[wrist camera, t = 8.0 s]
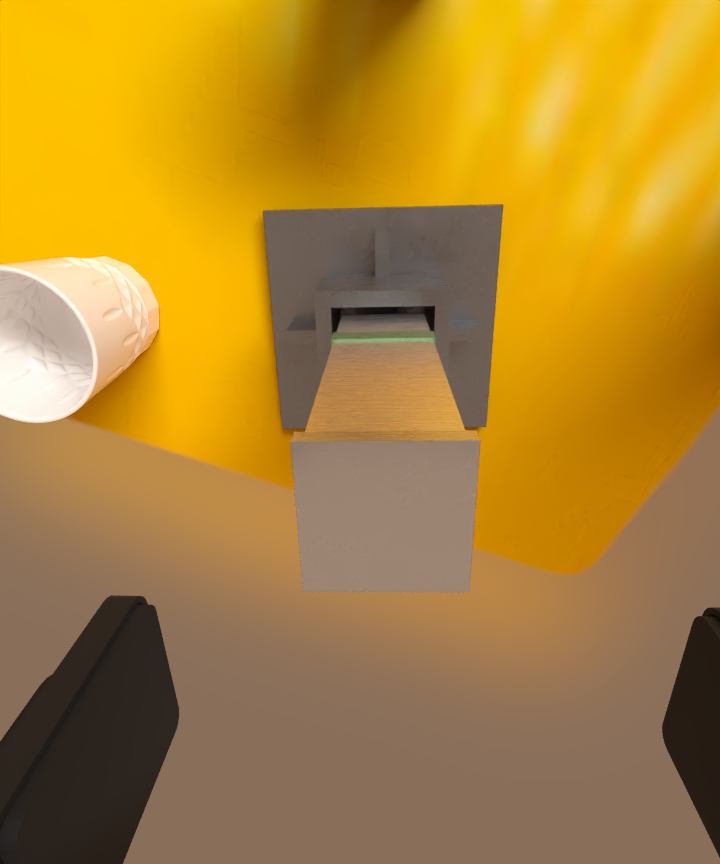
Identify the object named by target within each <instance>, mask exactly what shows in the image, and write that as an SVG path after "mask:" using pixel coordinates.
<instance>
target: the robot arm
mask: <svg viewBox="0 0 720 864" xmlns="http://www.w3.org/2000/svg"><path fill="white" fill-rule="evenodd" d="M178 719H179V707H178V703H177V698H176V694H175V689H174V685H173V681H172V676H171V672H170V669H169V664H168V659H167V655H166V651H165V647H164V642H163V638H162V633H161V629H160V625H159V620H158V616H157V612H156V609H155V607H154V606H153V605H148V604H147V601H146V599H145V598H144V597H142V596H109V597H108V598H107V599H106V600H105V601H104V602H103V603H102V605H101V606H100V608H99V609H98V610H97V612H96V614H95V615H94V616H93V618H92V619H91V620H90V622H89V623H88V625H87V626H86V628H85V629H84V631H83V632H82V633H81V635H80V636H79V637H78V639H77V641H76V642H75V643H74V645H73V646H72V647H71V649H70V650H69V652H68V653H67V655H66V656H65V658H64V659H63V661H62V662H61V663H60V665H59V666H58V667H57V669H56V671H55V672H54V673H53V674H52V675H51V676H49V677H48V678H46V680H45V681H44V682H43V683H42V684H41V685H40V686H39V688H38V689H37V691H36V692H35V693H34V695H33V696H32V698H31V699H30V701H29V702H28V703H27V705H26V706H25V708H24V709H23V710H22V712H21V713H20V714H19V716H18V717H17V719H16V720H15V722H14V723H13V724H12V726H11V727H10V729H9V730H8V732H7V733H6V734H5V736H4V737H3V739H2V740H1V741H0V864H123V862H124V859H125V857H126V854H127V852H128V849H129V847H130V844H131V842H132V839H133V837H134V834H135V832H136V829H137V827H138V824H139V821H140V819H141V817H142V814H143V812H144V809H145V807H146V804H147V802H148V799H149V797H150V794H151V792H152V789H153V787H154V784H155V782H156V779H157V777H158V774H159V772H160V769H161V766H162V764H163V762H164V759H165V757H166V754H167V752H168V749H169V747H170V744H171V742H172V739H173V737H174V734H175V732H176V729H177V725H178ZM662 729H663V730H662V732H663V739H664V742H665V745H666V748H667V750H668V752H669V754H670V756H671V758H672V761H673V763H674V765H675V767H676V769H677V771H678V773H679V775H680V777H681V779H682V781H683V783H684V785H685V787H686V789H687V791H688V793H689V795H690V798H691V800H692V802H693V804H694V806H695V808H696V810H697V812H698V814H699V816H700V818H701V820H702V822H703V824H704V826H705V828H706V830H707V832H708V834H709V836H710V838H711V840H712V843H713V845H714V847H715V849H716V851H717V853H718V855H719V857H720V608H707V609H706V610H705V611H704V613H703V615H702V616H699V617H696V618H695V619H694V621H693V624H692V627H691V631H690V634H689V637H688V641H687V644H686V648H685V651H684V654H683V658H682V661H681V664H680V668H679V671H678V674H677V678H676V681H675V684H674V688H673V691H672V695H671V698H670V701H669V704H668V708H667V711H666V715H665V718H664V721H663V726H662Z"/></svg>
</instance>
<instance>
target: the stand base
mask: <svg viewBox="0 0 720 864" xmlns="http://www.w3.org/2000/svg"><path fill="white" fill-rule="evenodd" d="M502 212H503V205H501V204H494V205H455V206H415V207H376V208H336V209H297V210H265V211H263V216H264V227H265V239H266V250H267V261H268V272H269V283H270V294H271V306H272V317H273V328H274V339H275V350H276V361H277V373H278V384H279V395H280V406H281V417H282V428H283V429H302V428H306V426H307V423H308V420H309V417H310V413H311V410H312V407H313V404H314V401H315V398H316V395H317V392H318V388H319V385H320V382H321V379H322V376H323V373H324V370H325V367H326V363H327V360H328V357H329V354H330V351H331V338H332V335H333V332H337V329H338V326H339V323H340V320H341V317H342V314H385V313H424V315H425V318H426V321H427V324H428V326H429V329H430V331H433V332H434V334H435V337H436V349H437V352H438V355H439V357H440V360H441V363H442V366H443V369H444V372H445V374H446V377H447V380H448V383H449V386H450V388H451V391H452V394H453V397H454V400H455V403H456V405H457V408H458V411H459V414H460V417H461V419H462V422H463V425H464V427H486V422H487V409H488V396H489V382H490V369H491V356H492V343H493V330H494V317H495V304H496V291H497V278H498V265H499V252H500V238H501V225H502Z"/></svg>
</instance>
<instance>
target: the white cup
mask: <svg viewBox="0 0 720 864" xmlns="http://www.w3.org/2000/svg"><path fill="white" fill-rule="evenodd" d="M158 330H159V305H158V303H157V300H156V298H155V296H154V294H153V292H152V290H151V287H150V285H149V283H148V282H147V281H146V280H145V279H144V278H143V277H142V276H141V275H139V274H138V273H137V272H136V271H135V270H134V269H133V268H132V267H131V266H130V265H128V264H125V263H123V262H120V261H117V260H115V259H112V258H109V257H107V256H101V257H90V258H76V257H68V258H54V259H45V260H37V261H27V262H19V263H10V264H1V265H0V415H2V416H4V417H7V418H10V419H13V420H17V421H21V422H28V423H47V422H53V421H57V420H60V419H63V418H65V417H68V416H69V415H71V414H73V413H74V412H76V411H77V410H78V409H80V408H81V407H82V406H83V405H84V404H85V403H87V402H88V401H89V400H90V399H91V398H92V397H94V396H95V395H96V394H97V393H98V392H100V391H101V390H102V389H103V388H105V387H106V386H107V385H108V384H109V383H111V382H112V381H113V380H114V379H115V378H117V377H118V376H119V375H120V374H121V373H122V372H123V371H124V370H125V369H126V368H128V367H129V366H130V365H131V364H132V363H133V362H134V360H135V359H136V358H137V357H138V356H139V355H140V354H141V353H143V352H144V351H145V350H146V349H148V348H149V347H150V345H151V343H152V341H153V339H154V337H155V335H156V333H157V331H158Z"/></svg>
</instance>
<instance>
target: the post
mask: <svg viewBox="0 0 720 864" xmlns="http://www.w3.org/2000/svg"><path fill="white" fill-rule="evenodd" d="M290 443H291V455H292V467H293V479H294V491H295V502H296V513H297V525H298V537H299V549H300V562H301V574H302V586H303V591H304V592H469V590H470V578H471V564H472V550H473V537H474V523H475V509H476V495H477V482H478V468H479V454H480V438H479V435H478V433H477V430H465V428H464V425H463V422H462V419H461V417H460V414H459V411H458V408H457V405H456V403H455V400H454V397H453V394H452V391H451V388H450V386H449V383H448V380H447V377H446V374H445V372H444V369H443V366H442V363H441V360H440V357H439V355H438V352H437V349H436V337H435V334H434V332H433V331H430V329H429V326H428V324H427V321H426V318H425V315H424V313H385V314H342V317H341V320H340V323H339V326H338V329H337V332H333V335H332V338H331V351H330V354H329V357H328V360H327V363H326V367H325V370H324V373H323V376H322V379H321V382H320V385H319V388H318V392H317V395H316V398H315V401H314V404H313V407H312V410H311V413H310V417H309V420H308V423H307V426H306V429H305V432H294V433H293V436H292V439H291V441H290Z"/></svg>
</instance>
